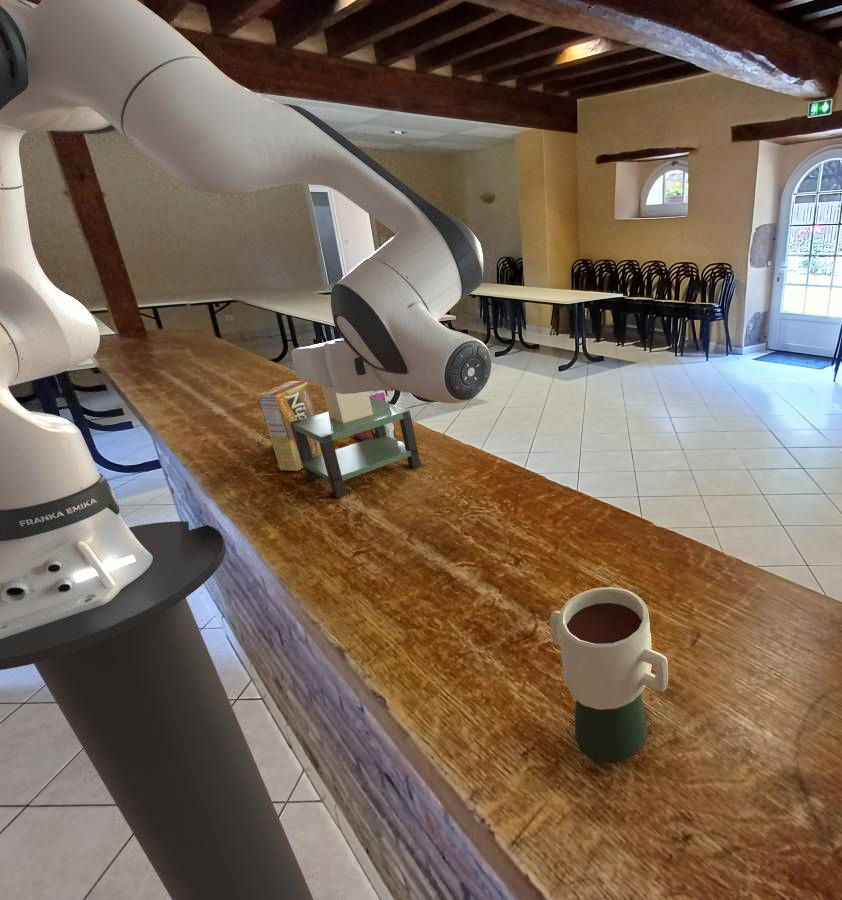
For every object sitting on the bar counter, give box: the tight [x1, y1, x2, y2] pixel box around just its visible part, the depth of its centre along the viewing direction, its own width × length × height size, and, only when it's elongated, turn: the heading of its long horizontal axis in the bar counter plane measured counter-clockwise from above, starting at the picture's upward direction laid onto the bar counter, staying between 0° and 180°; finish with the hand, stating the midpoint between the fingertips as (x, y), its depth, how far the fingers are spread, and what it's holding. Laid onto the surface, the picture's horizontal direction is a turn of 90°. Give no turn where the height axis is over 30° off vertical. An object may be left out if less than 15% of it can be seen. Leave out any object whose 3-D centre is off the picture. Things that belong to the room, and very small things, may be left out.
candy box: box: [257, 380, 322, 472], centre depth 106 cm, size 9×4×15 cm, turn 171°
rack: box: [290, 399, 421, 498], centre depth 101 cm, size 16×13×11 cm
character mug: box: [549, 586, 669, 764], centre depth 45 cm, size 11×7×13 cm, turn 56°
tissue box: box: [310, 342, 373, 423], centre depth 96 cm, size 6×6×13 cm
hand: (349, 344), depth 81 cm, fingers open, 8 cm apart
